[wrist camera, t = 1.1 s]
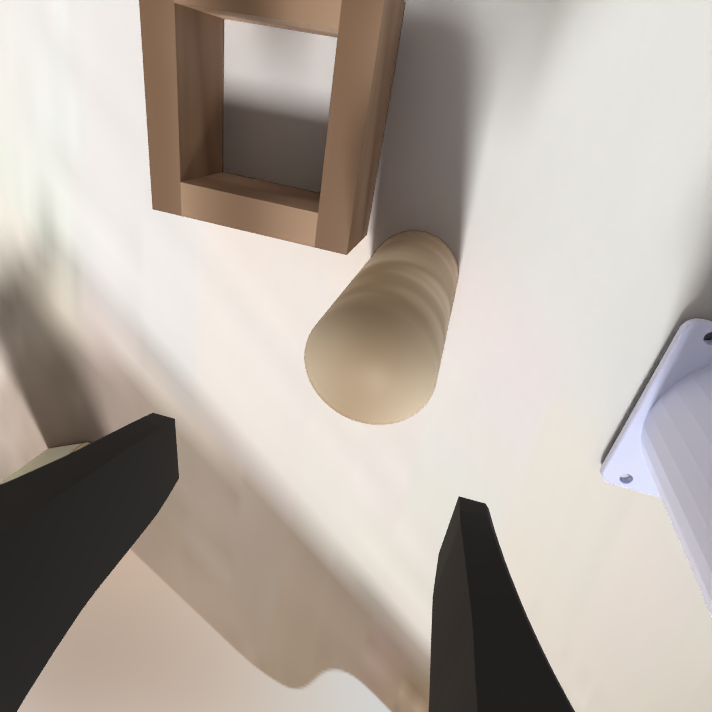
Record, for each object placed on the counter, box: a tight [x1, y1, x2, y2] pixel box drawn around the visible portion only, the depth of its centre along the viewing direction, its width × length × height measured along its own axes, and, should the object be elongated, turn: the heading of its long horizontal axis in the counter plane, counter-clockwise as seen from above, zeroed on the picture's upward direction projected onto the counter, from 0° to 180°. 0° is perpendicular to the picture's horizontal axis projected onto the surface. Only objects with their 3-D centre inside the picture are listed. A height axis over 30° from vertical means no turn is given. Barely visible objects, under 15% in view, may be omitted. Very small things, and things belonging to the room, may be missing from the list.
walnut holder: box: [139, 0, 405, 255], centre depth 16 cm, size 8×8×3 cm
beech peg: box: [304, 231, 458, 425], centre depth 16 cm, size 4×4×8 cm
